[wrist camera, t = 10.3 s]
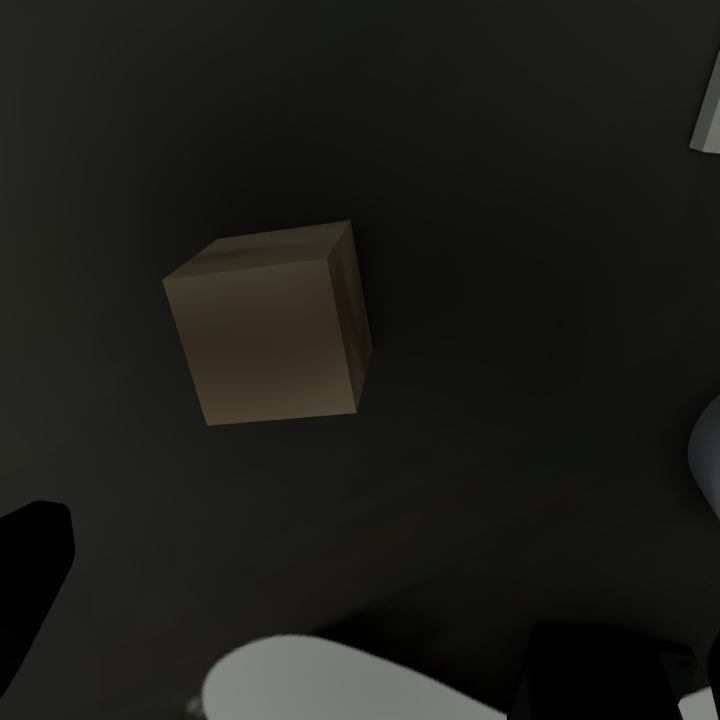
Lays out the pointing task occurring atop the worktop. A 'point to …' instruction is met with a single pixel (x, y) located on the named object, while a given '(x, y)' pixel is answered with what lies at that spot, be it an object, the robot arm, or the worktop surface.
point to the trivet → (709, 116)
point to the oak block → (274, 324)
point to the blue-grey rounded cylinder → (707, 454)
